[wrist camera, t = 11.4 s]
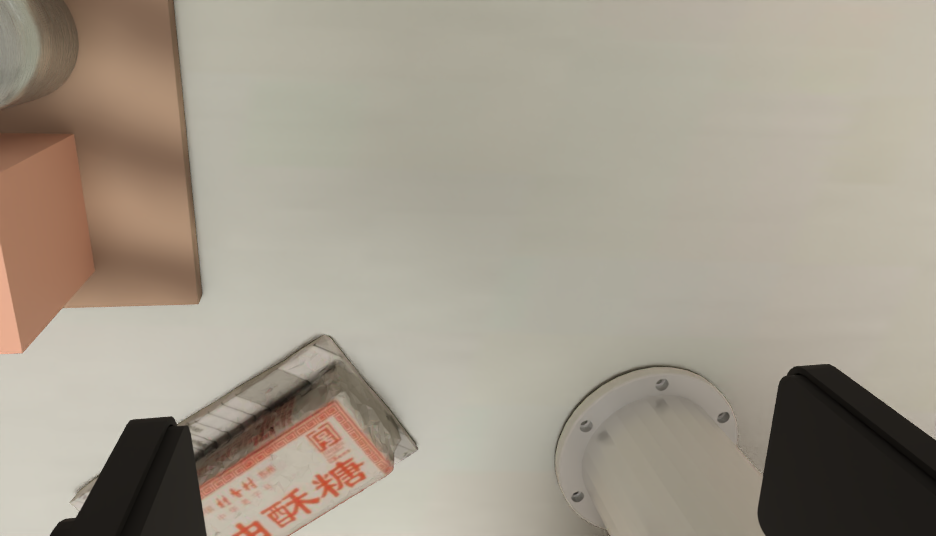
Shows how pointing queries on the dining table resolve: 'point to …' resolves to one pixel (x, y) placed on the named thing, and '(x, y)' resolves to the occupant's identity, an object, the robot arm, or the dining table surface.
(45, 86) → the tin
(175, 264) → the shelf board
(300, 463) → the packaged product
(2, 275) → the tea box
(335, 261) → the dining table surface
